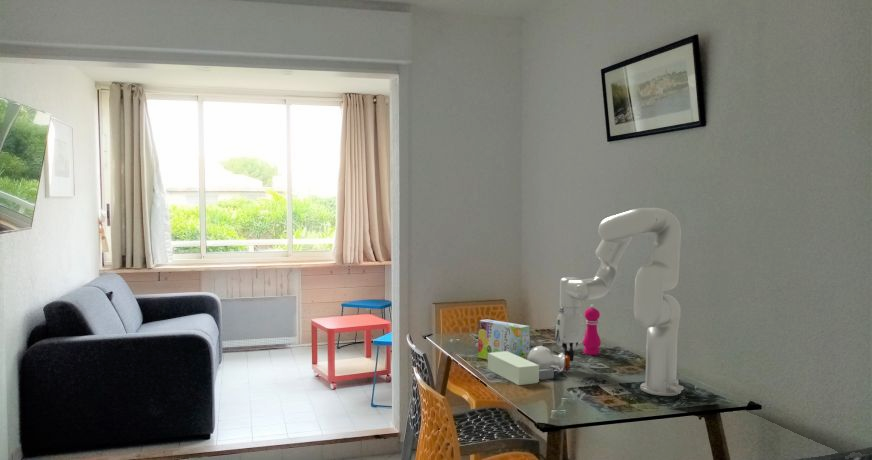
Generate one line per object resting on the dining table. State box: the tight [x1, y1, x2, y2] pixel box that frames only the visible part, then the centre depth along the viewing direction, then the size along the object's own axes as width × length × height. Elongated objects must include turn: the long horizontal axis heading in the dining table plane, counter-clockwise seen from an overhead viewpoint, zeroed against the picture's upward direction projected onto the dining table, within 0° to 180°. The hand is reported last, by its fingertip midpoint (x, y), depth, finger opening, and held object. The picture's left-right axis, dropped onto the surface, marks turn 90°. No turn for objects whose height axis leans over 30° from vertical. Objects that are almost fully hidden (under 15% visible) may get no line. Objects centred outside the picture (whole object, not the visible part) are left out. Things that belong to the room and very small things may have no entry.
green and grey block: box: [487, 351, 555, 386], centre depth 227 cm, size 22×16×6 cm
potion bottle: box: [527, 345, 571, 372], centre depth 231 cm, size 9×10×15 cm
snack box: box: [477, 319, 531, 361], centre depth 245 cm, size 21×6×15 cm, turn 47°
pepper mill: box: [582, 303, 602, 356], centre depth 259 cm, size 7×7×20 cm
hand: (568, 360), depth 235 cm, fingers closed
